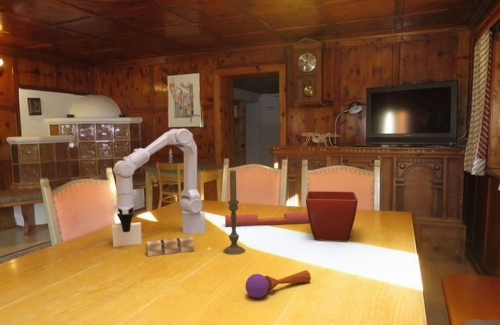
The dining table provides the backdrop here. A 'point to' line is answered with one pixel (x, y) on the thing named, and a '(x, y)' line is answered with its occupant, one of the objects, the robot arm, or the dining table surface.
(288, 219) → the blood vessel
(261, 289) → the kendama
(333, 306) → the dining table surface
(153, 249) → the offcut
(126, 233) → the cream rectangular block
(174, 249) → the block
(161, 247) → the rack
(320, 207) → the plant pot
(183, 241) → the offcut
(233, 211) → the candlestick holder
